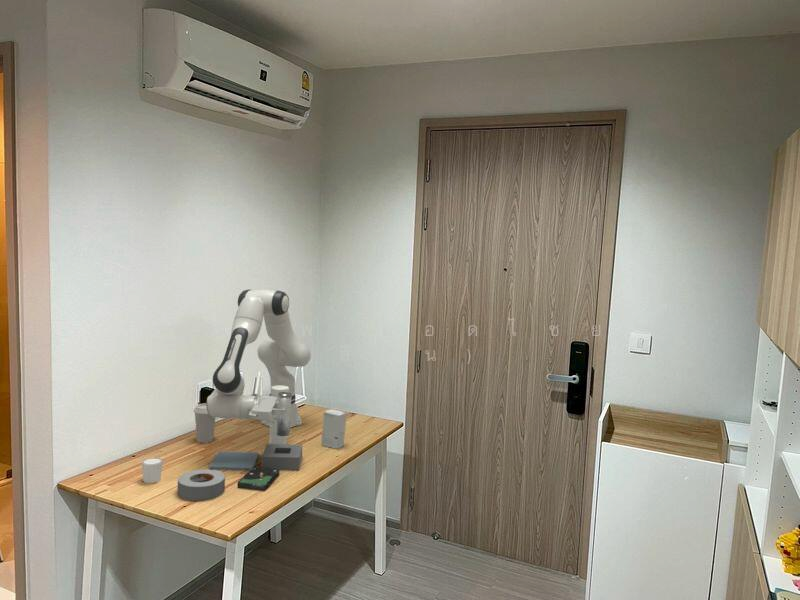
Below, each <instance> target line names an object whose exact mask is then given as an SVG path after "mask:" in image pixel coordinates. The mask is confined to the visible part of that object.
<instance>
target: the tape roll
mask: <svg viewBox="0 0 800 600" xmlns="http://www.w3.org/2000/svg"><path fill="white" fill-rule="evenodd" d="M225 488H226V476H225V474H224V473H223V472H222V471H221V470H214V469H206V468H205V469H197V470H196V469H195V470H191V471H187V472H184V473H182V474H180V475H179V477H178V478H177V494H176V495H177V496H178V497H179V498H180V499H182V500H185V501H191V502H192V501H193V502H203V501H209V500H213V499H216V498H218V497H220V496H222V495H224V493H225V490H226V489H225Z"/></svg>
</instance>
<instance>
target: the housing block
mask: <svg viewBox="0 0 800 600" xmlns="http://www.w3.org/2000/svg"><path fill="white" fill-rule="evenodd" d="M302 459H303V444H290V443H289V444H288V443H287V444H269V443H266V445H265V448H264V450H263V453H262V454H261V467H260V468H261V469H264V468H270V469H278V470H280V471H300V466H301V463H302Z"/></svg>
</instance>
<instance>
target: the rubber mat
mask: <svg viewBox="0 0 800 600" xmlns="http://www.w3.org/2000/svg"><path fill="white" fill-rule="evenodd" d="M259 456H260V452H257V451H254V452H253V451H251V452H250V451H217V454H216V455H215V457H214V458H213V459H212V461H211V463H210V465H209V466H208V470H214V469H216V471H221V470H222V471H250V470H251V469H252V468H253V467H256V463H257V462H258V459H259ZM217 469H218V470H217Z"/></svg>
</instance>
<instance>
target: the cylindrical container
mask: <svg viewBox="0 0 800 600" xmlns="http://www.w3.org/2000/svg"><path fill="white" fill-rule="evenodd" d="M280 392H289V387H288V386H283V385H277V386H272V387H271V386H270V394H271V396H274V397H277V402H278V393H280ZM276 409H278V408H276ZM268 444H288V436H278V435H277V415H273V416H272V418H271V420H270V427H269V443H268Z"/></svg>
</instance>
